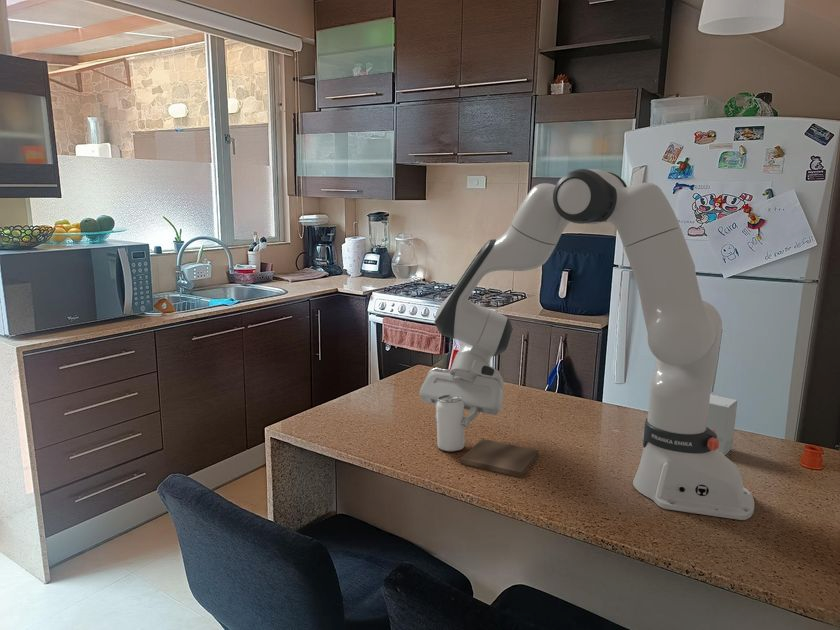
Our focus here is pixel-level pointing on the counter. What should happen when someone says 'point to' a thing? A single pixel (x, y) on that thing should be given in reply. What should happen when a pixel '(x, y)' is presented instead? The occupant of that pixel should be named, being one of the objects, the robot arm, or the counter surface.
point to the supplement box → (722, 421)
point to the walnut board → (500, 457)
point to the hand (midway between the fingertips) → (451, 423)
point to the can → (450, 423)
